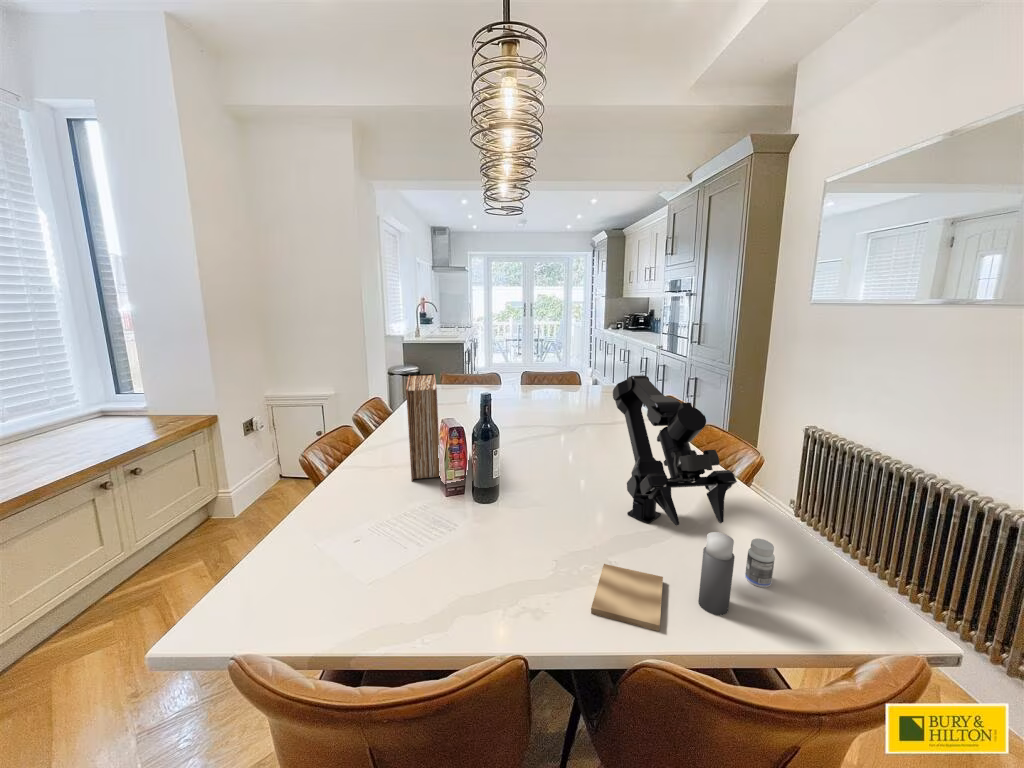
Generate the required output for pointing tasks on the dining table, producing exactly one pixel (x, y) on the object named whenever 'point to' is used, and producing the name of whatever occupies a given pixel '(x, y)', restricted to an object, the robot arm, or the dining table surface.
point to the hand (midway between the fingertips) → (699, 523)
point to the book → (423, 425)
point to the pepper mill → (716, 574)
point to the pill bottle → (760, 563)
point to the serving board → (629, 597)
